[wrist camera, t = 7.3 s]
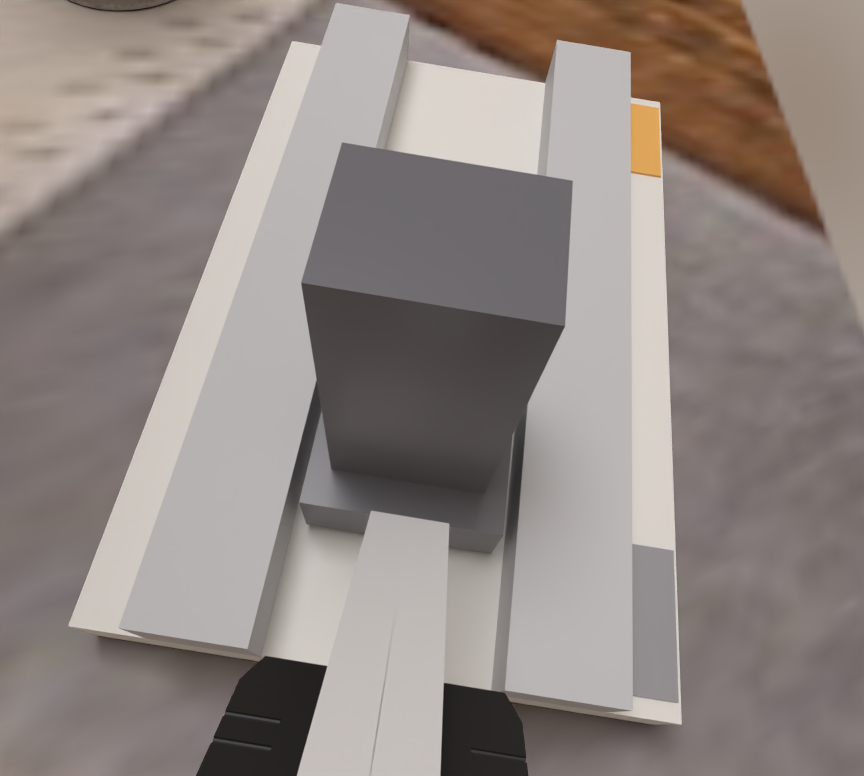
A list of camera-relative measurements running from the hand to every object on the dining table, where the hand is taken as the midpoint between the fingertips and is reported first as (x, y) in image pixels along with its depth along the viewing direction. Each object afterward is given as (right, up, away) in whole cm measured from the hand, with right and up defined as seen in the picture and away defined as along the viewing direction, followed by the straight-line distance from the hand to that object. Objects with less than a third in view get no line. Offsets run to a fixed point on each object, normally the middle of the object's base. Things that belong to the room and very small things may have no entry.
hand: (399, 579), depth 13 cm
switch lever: (0, +2, +7) cm, 7 cm away
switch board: (+1, +6, +12) cm, 13 cm away
